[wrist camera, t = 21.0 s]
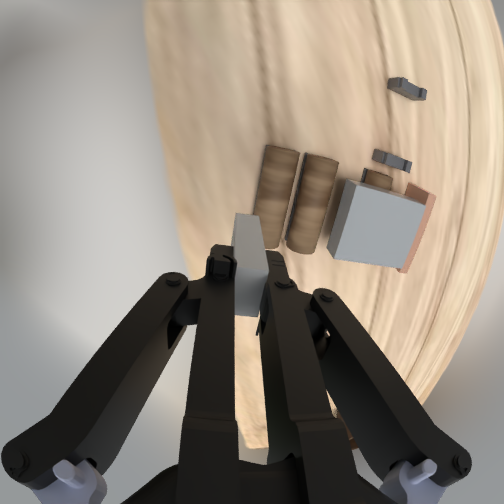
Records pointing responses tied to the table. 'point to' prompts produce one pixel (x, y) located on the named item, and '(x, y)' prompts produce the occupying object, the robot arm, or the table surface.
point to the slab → (374, 225)
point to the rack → (414, 94)
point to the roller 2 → (311, 203)
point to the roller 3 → (378, 180)
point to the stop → (429, 201)
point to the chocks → (299, 188)
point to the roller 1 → (275, 192)
